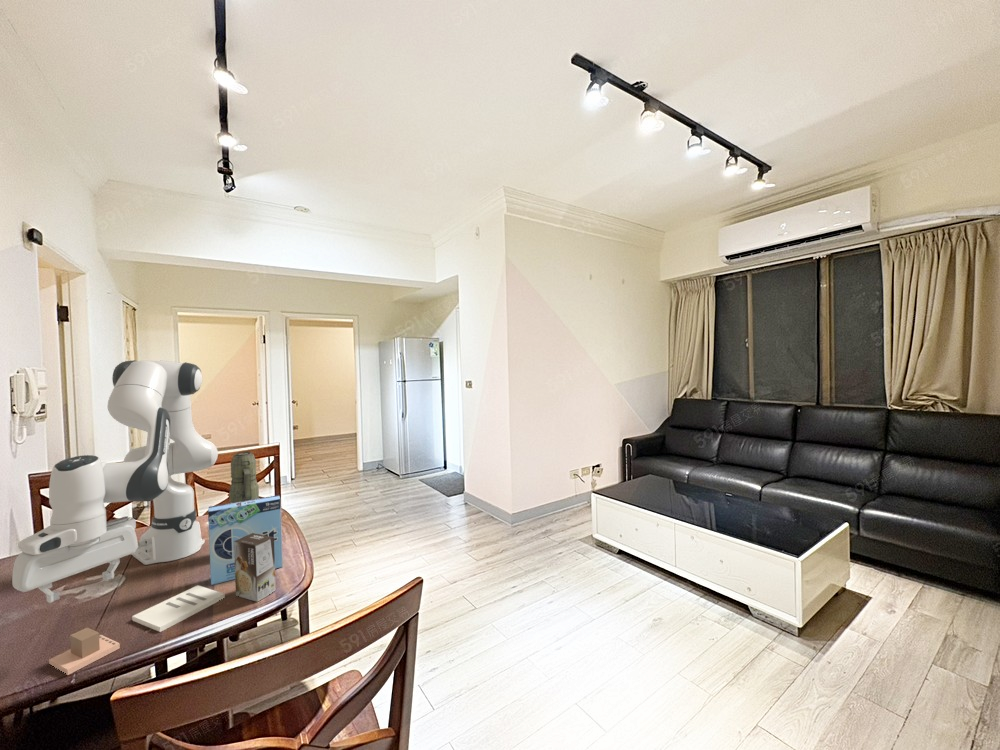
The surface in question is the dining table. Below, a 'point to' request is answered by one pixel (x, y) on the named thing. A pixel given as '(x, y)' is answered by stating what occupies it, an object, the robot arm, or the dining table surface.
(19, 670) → the dining table surface
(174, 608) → the ticket
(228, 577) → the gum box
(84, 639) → the peach base with block
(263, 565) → the coffee box
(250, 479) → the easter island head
